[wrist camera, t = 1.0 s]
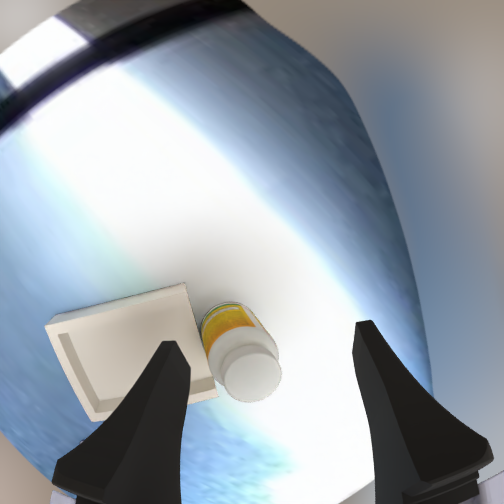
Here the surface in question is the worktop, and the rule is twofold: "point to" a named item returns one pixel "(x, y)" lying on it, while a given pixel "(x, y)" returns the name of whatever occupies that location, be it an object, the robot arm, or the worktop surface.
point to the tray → (127, 346)
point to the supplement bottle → (240, 352)
